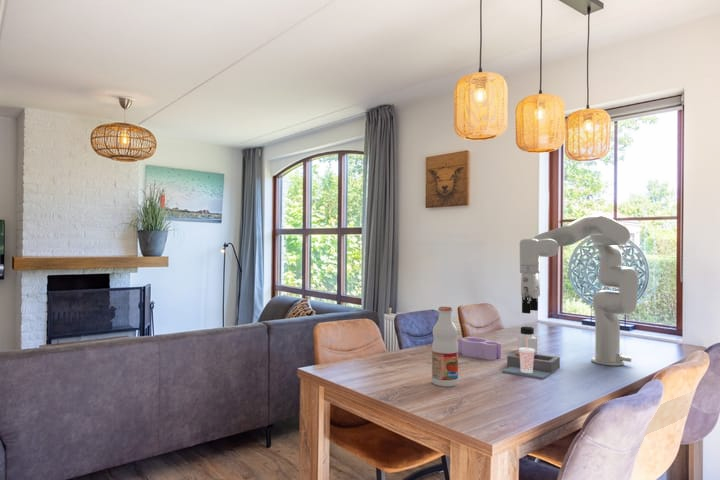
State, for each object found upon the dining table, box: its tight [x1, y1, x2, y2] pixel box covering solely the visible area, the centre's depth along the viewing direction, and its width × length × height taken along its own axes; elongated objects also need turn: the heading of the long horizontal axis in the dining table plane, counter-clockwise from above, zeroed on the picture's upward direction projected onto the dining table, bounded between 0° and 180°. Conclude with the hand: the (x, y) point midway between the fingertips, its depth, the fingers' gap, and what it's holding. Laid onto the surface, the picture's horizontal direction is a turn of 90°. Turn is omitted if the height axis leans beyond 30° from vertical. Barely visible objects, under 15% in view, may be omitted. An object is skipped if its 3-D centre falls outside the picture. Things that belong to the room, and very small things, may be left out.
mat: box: [502, 366, 552, 380], centre depth 187 cm, size 16×9×1 cm, turn 52°
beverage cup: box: [518, 336, 535, 373], centre depth 187 cm, size 6×6×14 cm
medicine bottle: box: [517, 325, 538, 354], centre depth 228 cm, size 7×7×12 cm
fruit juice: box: [431, 306, 459, 388], centre depth 173 cm, size 9×9×28 cm
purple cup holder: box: [457, 336, 502, 361], centre depth 219 cm, size 20×12×7 cm, turn 39°
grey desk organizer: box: [506, 351, 561, 375], centre depth 197 cm, size 18×12×4 cm, turn 52°
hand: (530, 311), depth 190 cm, fingers open, 9 cm apart
